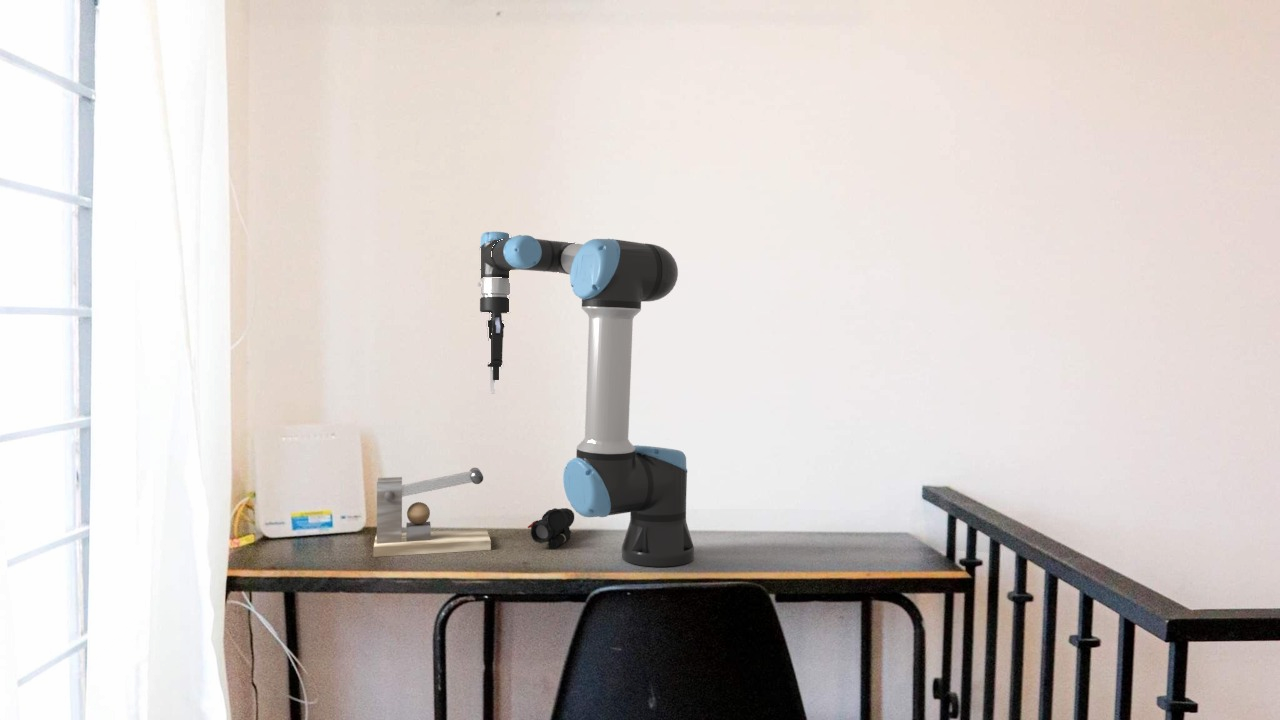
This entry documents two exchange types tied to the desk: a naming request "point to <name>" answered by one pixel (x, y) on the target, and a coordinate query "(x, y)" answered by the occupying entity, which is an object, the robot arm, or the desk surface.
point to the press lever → (443, 482)
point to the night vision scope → (553, 527)
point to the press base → (437, 543)
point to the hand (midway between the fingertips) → (495, 393)
